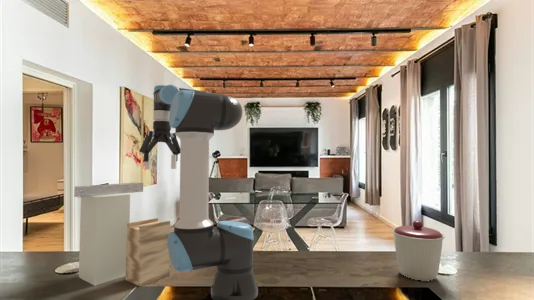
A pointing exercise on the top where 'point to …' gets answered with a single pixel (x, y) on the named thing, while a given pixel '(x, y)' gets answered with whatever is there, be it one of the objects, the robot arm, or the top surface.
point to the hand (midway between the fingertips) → (161, 169)
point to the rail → (107, 189)
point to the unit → (103, 237)
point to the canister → (418, 251)
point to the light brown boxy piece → (147, 251)
